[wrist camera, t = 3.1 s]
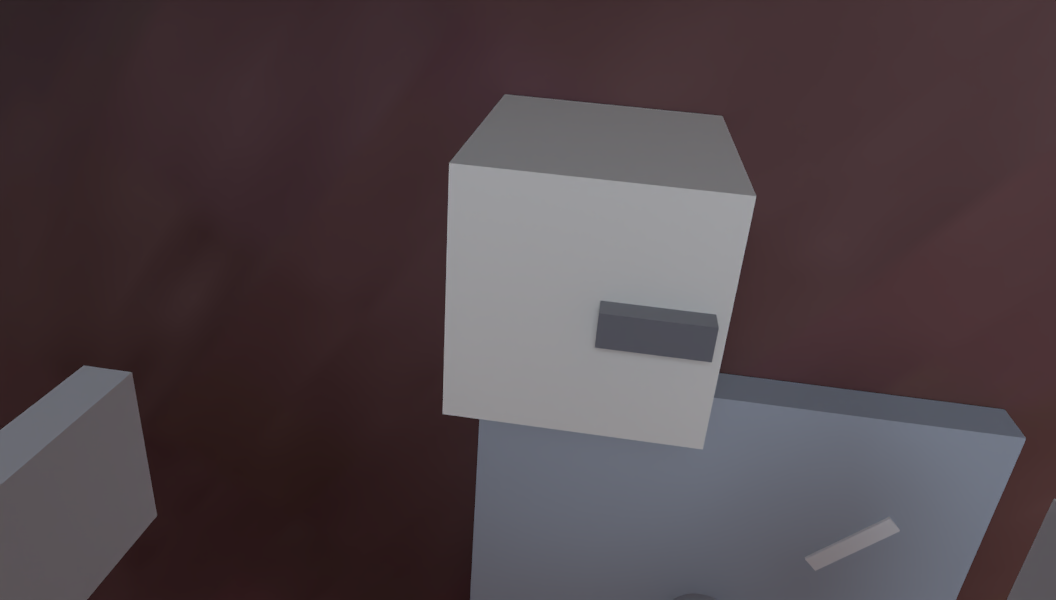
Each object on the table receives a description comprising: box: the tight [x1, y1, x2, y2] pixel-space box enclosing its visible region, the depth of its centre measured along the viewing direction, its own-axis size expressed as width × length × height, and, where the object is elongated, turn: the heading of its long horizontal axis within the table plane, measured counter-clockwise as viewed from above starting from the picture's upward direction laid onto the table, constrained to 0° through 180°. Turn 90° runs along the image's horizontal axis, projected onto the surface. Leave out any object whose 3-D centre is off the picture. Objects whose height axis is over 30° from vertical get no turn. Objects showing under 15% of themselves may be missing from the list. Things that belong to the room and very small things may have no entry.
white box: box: [443, 94, 756, 450], centre depth 19 cm, size 6×6×8 cm
